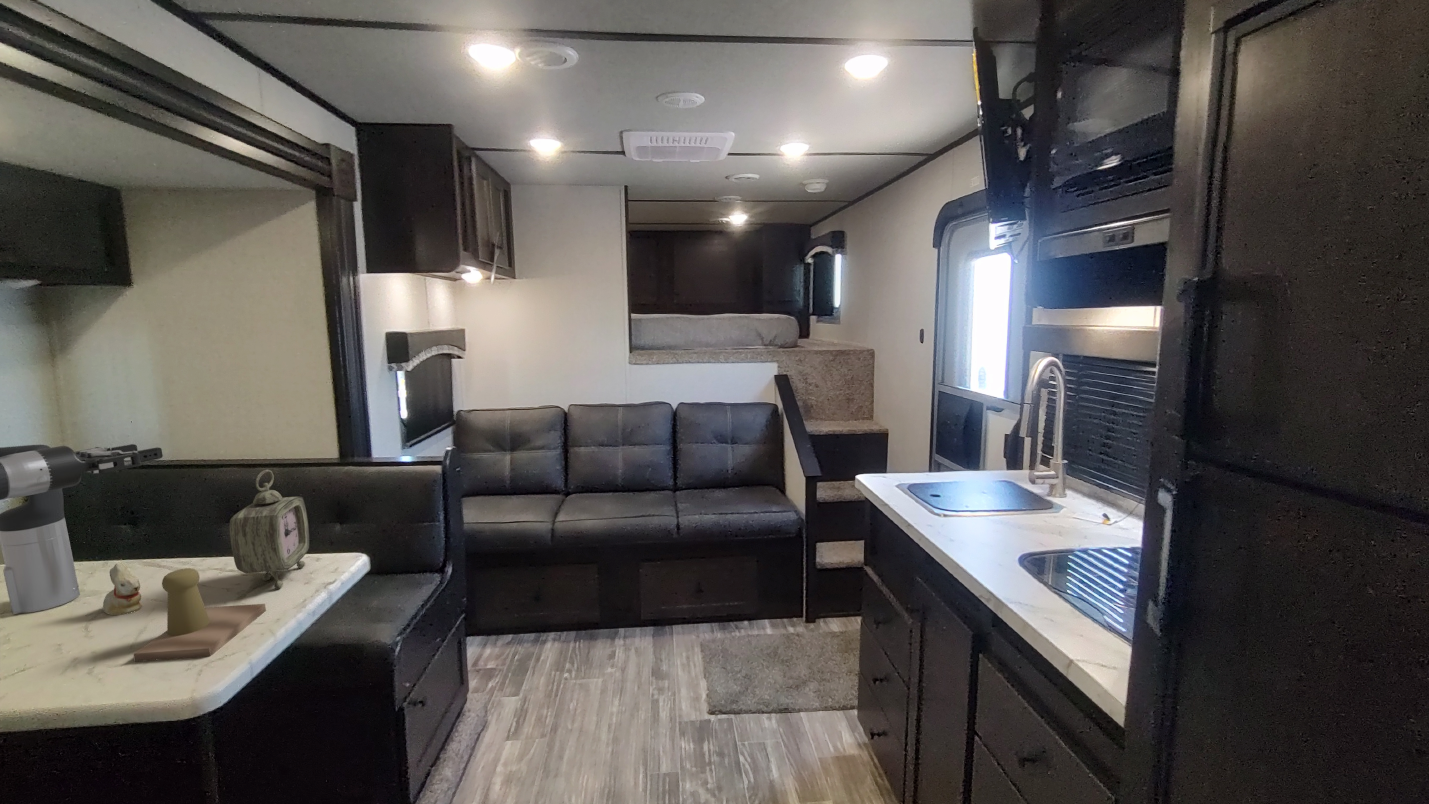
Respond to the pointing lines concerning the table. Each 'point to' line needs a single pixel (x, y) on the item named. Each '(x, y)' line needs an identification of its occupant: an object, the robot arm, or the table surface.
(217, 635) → the walnut board
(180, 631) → the cork
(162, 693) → the table surface
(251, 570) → the tabletop clock
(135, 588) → the chocolate bunny
